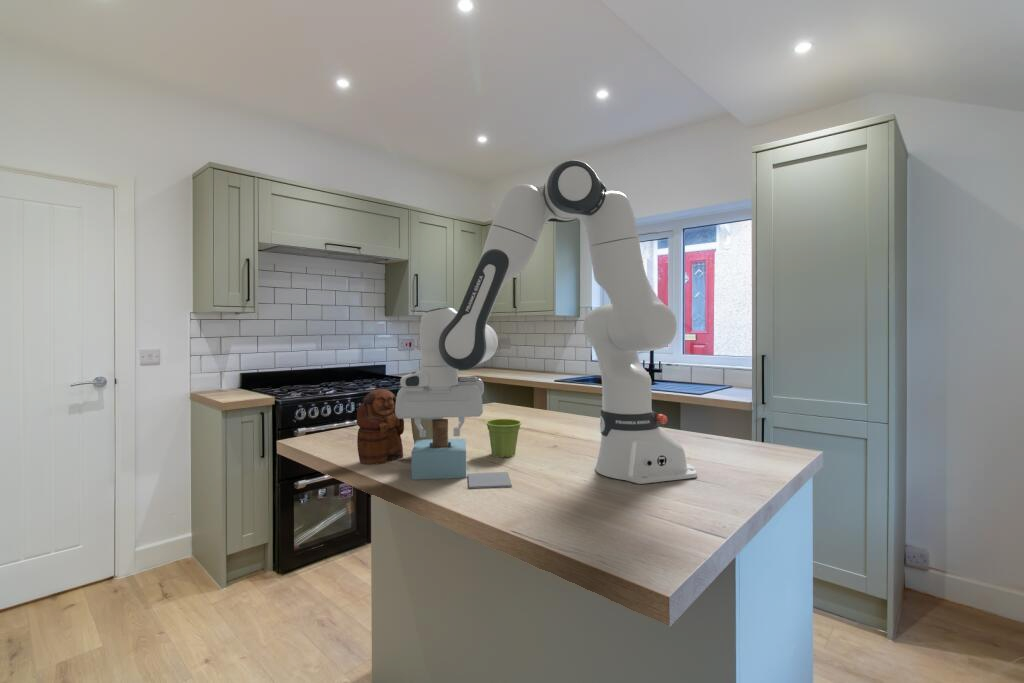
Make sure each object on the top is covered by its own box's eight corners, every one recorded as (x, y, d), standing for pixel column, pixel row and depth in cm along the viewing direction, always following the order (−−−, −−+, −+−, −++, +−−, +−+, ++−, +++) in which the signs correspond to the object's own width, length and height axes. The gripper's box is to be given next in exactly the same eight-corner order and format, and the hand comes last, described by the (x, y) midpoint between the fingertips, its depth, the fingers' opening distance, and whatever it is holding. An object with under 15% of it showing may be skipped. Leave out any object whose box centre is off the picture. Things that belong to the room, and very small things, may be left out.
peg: (448, 468, 115) (448, 418, 115) (448, 472, 112) (447, 421, 111) (433, 468, 115) (432, 418, 115) (432, 473, 111) (431, 421, 111)
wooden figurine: (370, 467, 116) (369, 393, 116) (355, 463, 120) (353, 391, 120) (409, 456, 126) (408, 387, 125) (393, 452, 130) (392, 386, 129)
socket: (465, 462, 120) (465, 438, 120) (466, 477, 108) (465, 450, 108) (416, 464, 119) (416, 439, 119) (411, 479, 107) (411, 452, 107)
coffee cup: (442, 461, 121) (441, 401, 121) (404, 461, 121) (403, 401, 121) (447, 451, 131) (447, 396, 130) (412, 451, 131) (412, 396, 130)
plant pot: (500, 448, 134) (500, 417, 133) (528, 453, 128) (528, 421, 128) (478, 456, 126) (478, 422, 126) (507, 461, 121) (507, 427, 120)
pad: (507, 473, 111) (507, 472, 111) (511, 486, 102) (511, 484, 102) (468, 475, 110) (468, 473, 110) (468, 488, 101) (468, 486, 101)
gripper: (483, 375, 117) (483, 431, 118) (397, 376, 115) (398, 434, 115) (484, 378, 111) (485, 437, 111) (393, 379, 109) (394, 440, 109)
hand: (440, 436), depth 113 cm, fingers open, 6 cm apart
